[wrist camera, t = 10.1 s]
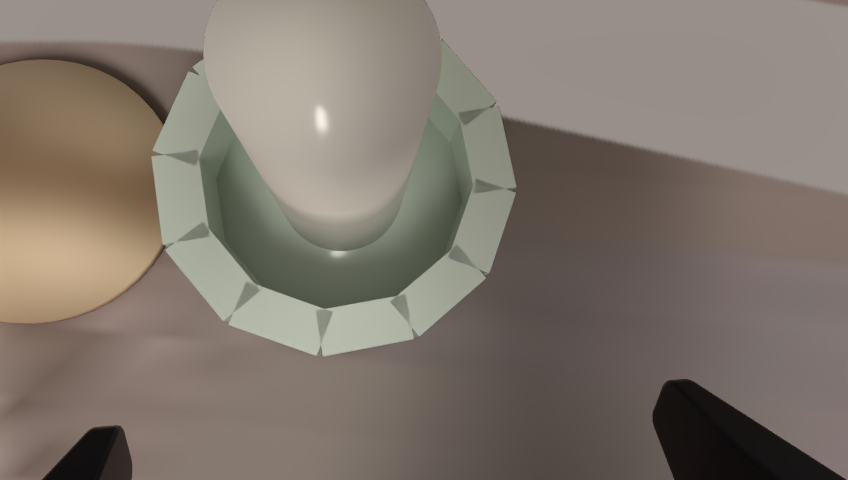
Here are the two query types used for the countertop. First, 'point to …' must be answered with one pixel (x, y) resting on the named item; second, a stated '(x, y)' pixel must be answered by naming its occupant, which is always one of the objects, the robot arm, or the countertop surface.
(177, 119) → the bowl
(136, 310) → the countertop surface
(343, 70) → the white dome-topped cylinder
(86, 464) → the robot arm
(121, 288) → the cork mat
